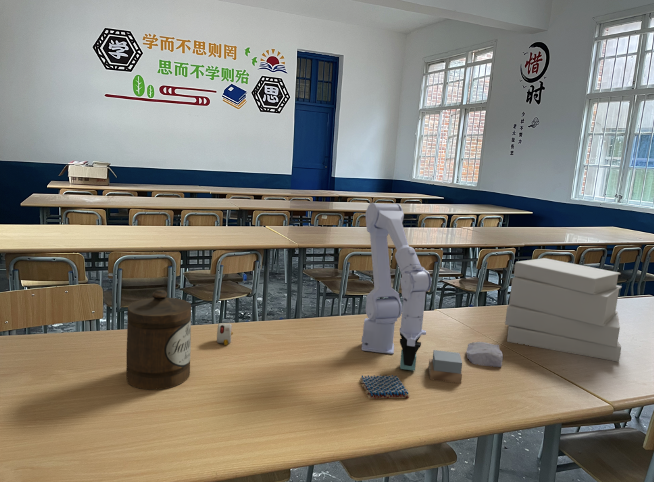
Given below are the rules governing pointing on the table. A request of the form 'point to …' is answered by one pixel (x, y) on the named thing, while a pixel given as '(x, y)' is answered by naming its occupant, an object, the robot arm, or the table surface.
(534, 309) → the book stack
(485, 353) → the stone block
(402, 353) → the teal cube
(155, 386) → the wooden container
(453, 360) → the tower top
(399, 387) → the woven mat
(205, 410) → the table surface
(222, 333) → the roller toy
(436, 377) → the tower base
